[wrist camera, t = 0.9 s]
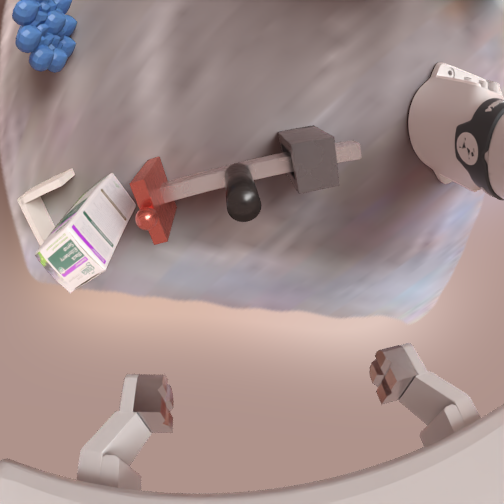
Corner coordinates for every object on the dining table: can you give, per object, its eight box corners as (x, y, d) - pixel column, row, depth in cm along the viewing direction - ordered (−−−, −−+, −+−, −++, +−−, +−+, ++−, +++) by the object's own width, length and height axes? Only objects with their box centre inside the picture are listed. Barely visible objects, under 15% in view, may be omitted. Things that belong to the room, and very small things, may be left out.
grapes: (44, 2, 19) (-11, -11, 9) (90, -15, 20) (43, -40, 10) (43, 80, 25) (-16, 90, 15) (88, 66, 26) (35, 68, 16)
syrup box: (112, 170, 34) (63, 224, 22) (138, 205, 37) (105, 273, 25) (82, 194, 35) (30, 254, 23) (108, 227, 38) (70, 296, 26)
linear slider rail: (342, 115, 32) (395, 137, 22) (348, 168, 36) (396, 208, 26) (145, 160, 33) (113, 201, 23) (163, 211, 37) (144, 268, 27)
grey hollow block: (313, 125, 33) (334, 137, 28) (319, 166, 36) (339, 185, 31) (277, 131, 34) (291, 144, 28) (285, 173, 37) (299, 193, 31)
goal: (72, 168, 32) (58, 178, 29) (106, 244, 39) (97, 260, 36) (31, 187, 33) (17, 199, 29) (65, 256, 39) (55, 272, 36)
